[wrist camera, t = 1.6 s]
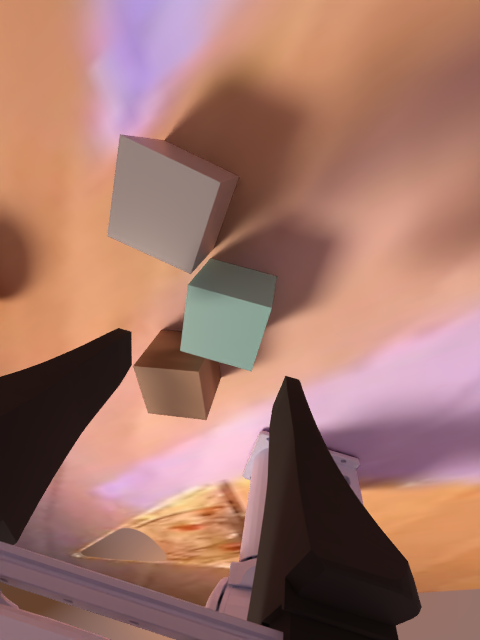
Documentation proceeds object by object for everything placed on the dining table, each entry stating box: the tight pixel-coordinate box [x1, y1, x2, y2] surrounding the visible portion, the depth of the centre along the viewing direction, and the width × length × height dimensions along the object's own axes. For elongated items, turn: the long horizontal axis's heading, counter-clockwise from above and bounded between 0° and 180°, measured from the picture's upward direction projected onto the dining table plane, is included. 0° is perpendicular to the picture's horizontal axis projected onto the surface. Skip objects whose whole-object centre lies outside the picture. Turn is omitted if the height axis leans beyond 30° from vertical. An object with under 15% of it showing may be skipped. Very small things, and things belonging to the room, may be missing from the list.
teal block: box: [180, 258, 277, 371], centre depth 17 cm, size 4×4×4 cm
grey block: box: [107, 135, 239, 274], centre depth 14 cm, size 4×4×4 cm
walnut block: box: [133, 330, 221, 420], centre depth 21 cm, size 4×4×4 cm
